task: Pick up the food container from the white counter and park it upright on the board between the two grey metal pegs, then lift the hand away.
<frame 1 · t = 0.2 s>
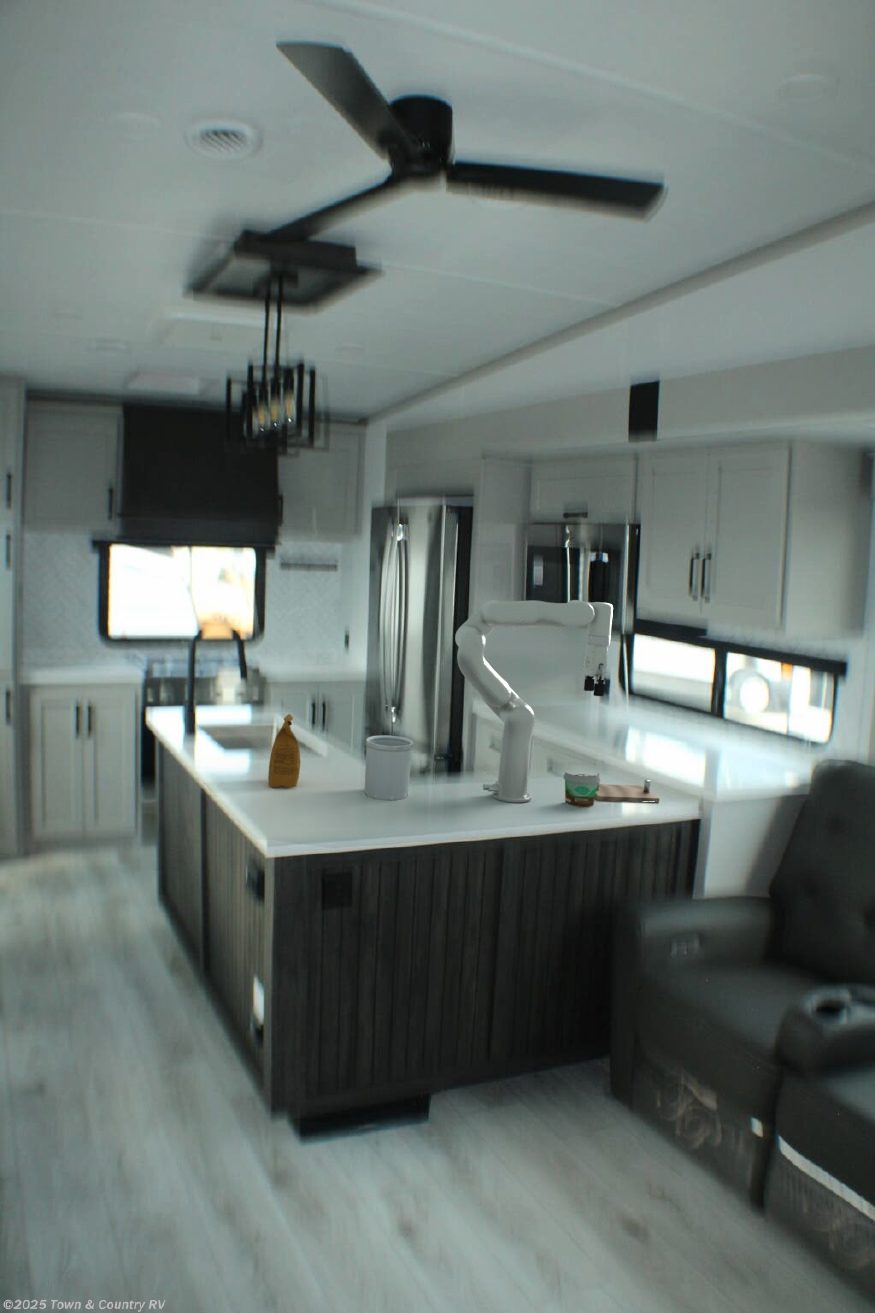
hand: (593, 693, 322), 36 cm above the counter, tool pointing down, fingers open, 9 cm apart
utensil holder: (386, 795, 315), on the counter
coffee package: (283, 785, 318), on the counter
food container: (582, 805, 321), on the counter
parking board: (620, 795, 337), on the counter
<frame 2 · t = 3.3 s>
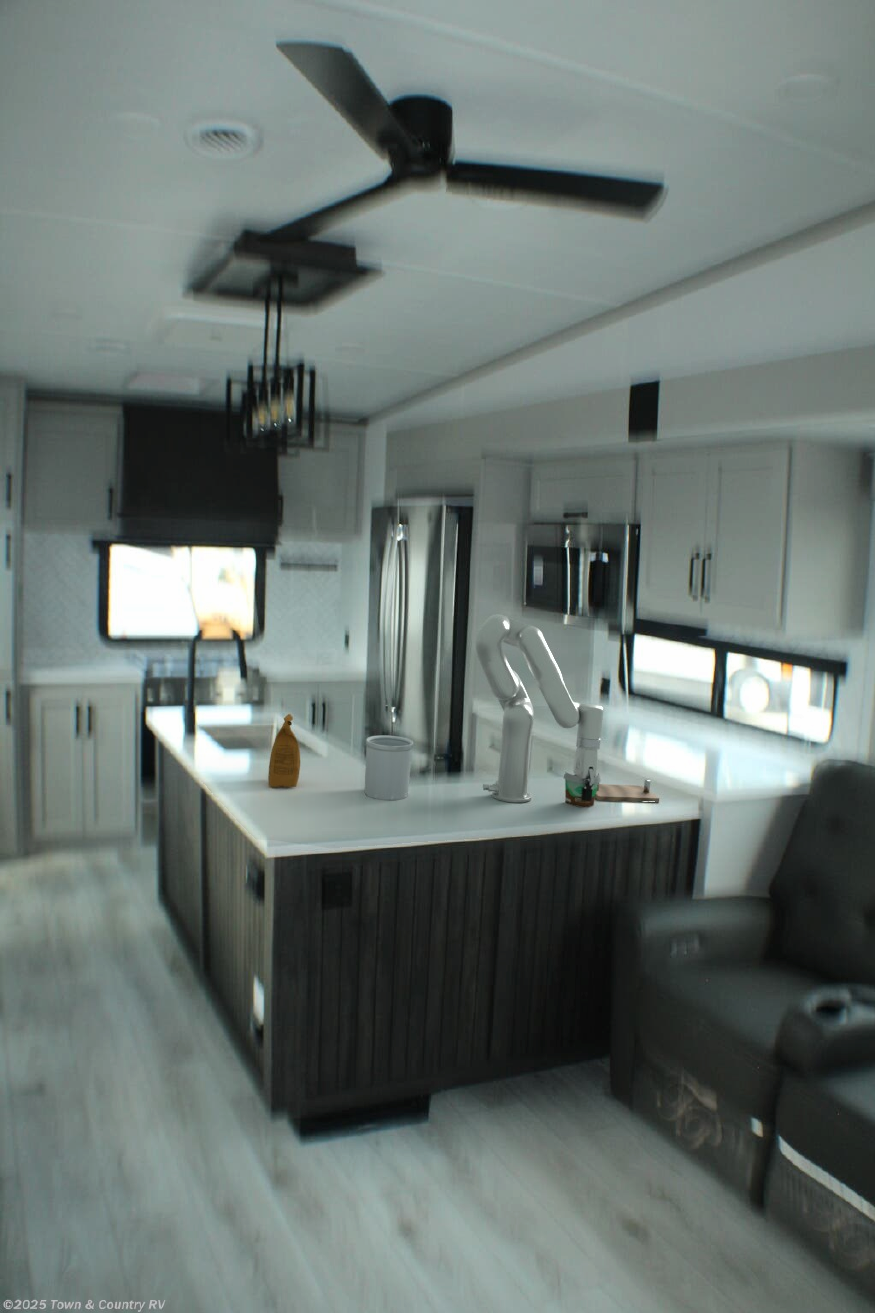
hand: (583, 797, 320), 3 cm above the counter, tool pointing down, fingers open, 6 cm apart
food container: (582, 805, 321), on the counter, touching gripper
everything else where it was.
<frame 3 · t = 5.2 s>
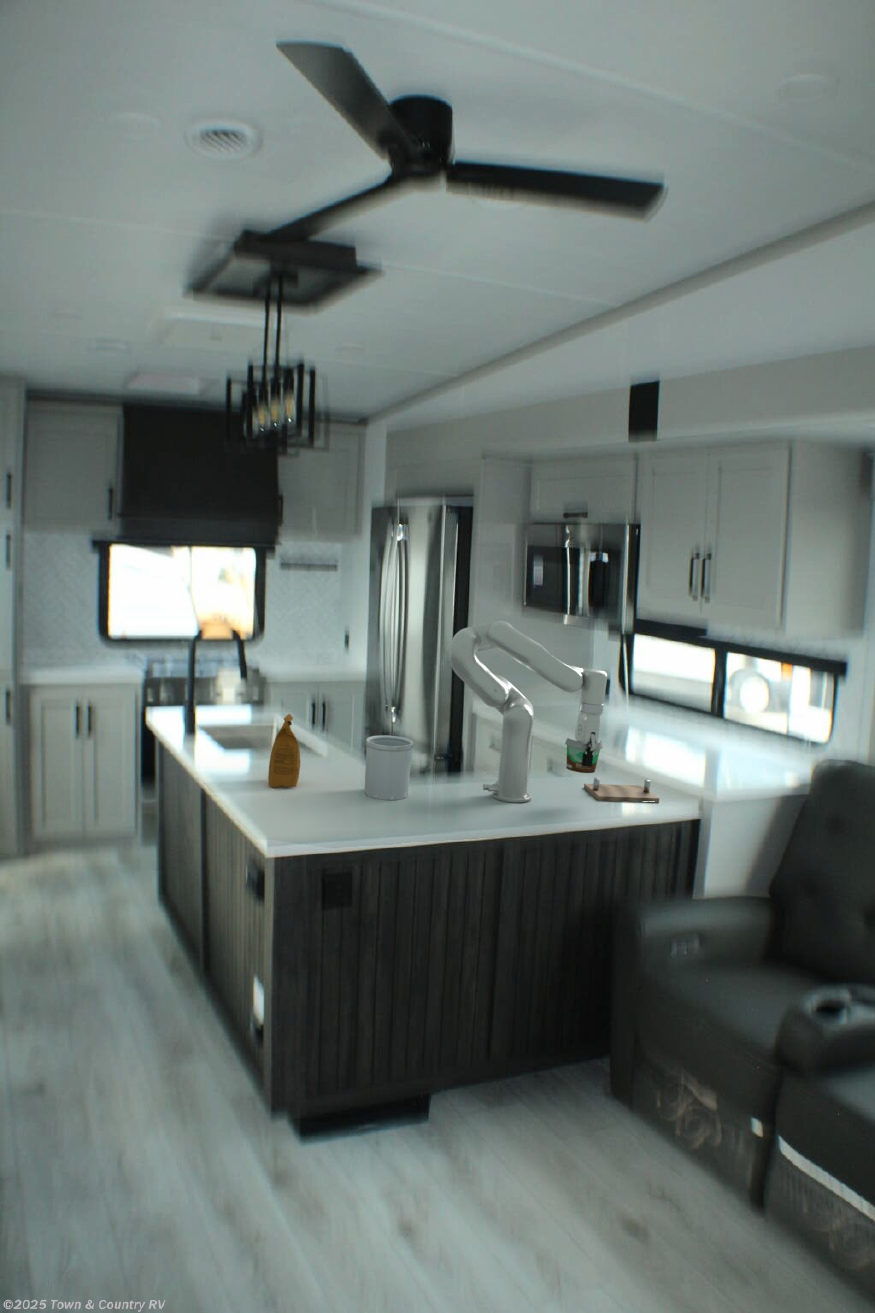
hand: (583, 763, 319), 14 cm above the counter, tool pointing down, fingers closed on food container, 5 cm apart
food container: (583, 772, 319), point 11 cm above the counter, touching gripper
everything else where it was.
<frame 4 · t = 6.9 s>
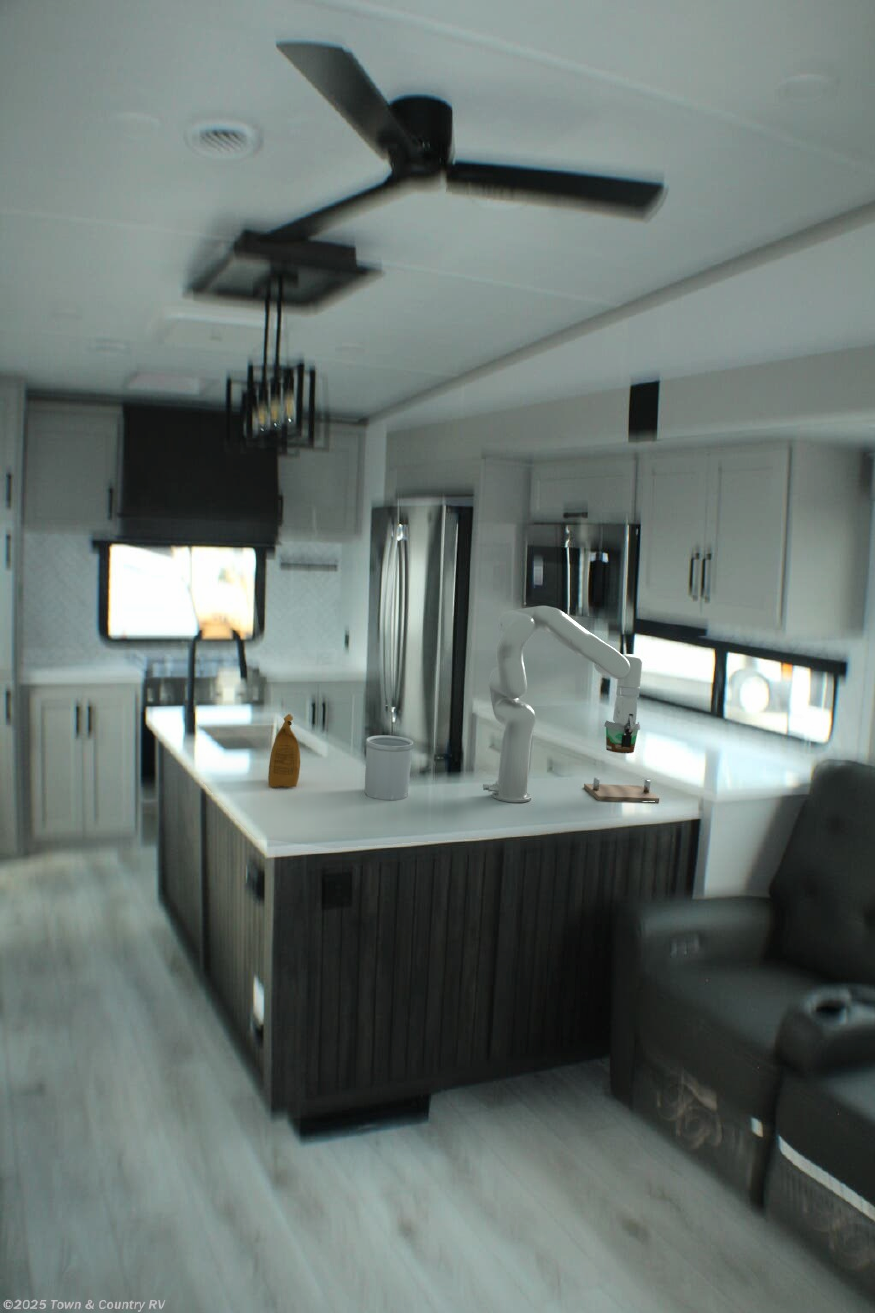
hand: (622, 744, 333), 18 cm above the counter, tool pointing down, fingers closed on food container, 5 cm apart
food container: (622, 752, 333), point 15 cm above the counter, touching gripper
everything else where it was.
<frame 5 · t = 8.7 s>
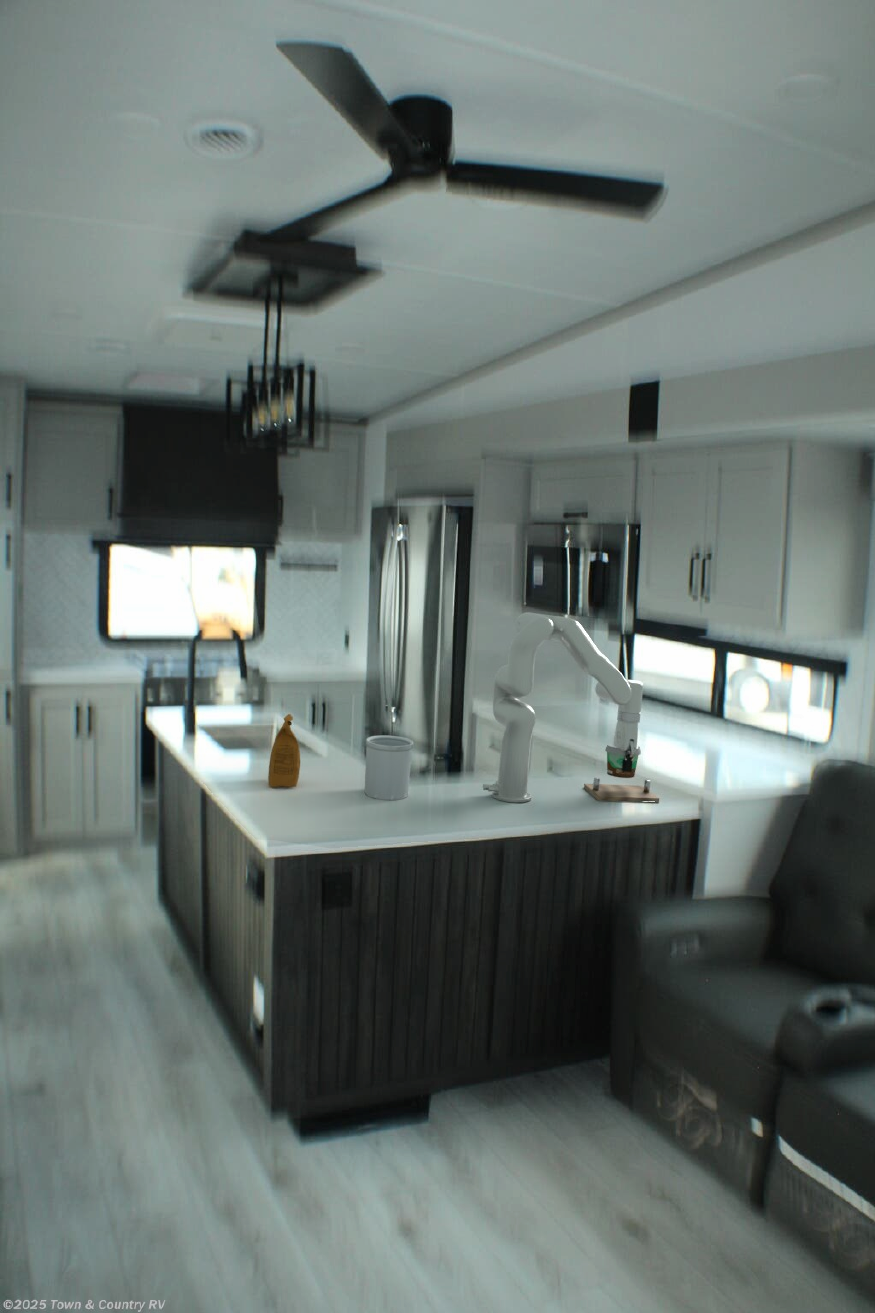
hand: (623, 769, 336), 9 cm above the counter, tool pointing down, fingers closed on food container, 5 cm apart
food container: (623, 777, 336), point 6 cm above the counter, touching gripper
everything else where it was.
when the fingers open (5 cm above the counter, at t = 10.3 s): food container drops 1 cm, resting on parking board.
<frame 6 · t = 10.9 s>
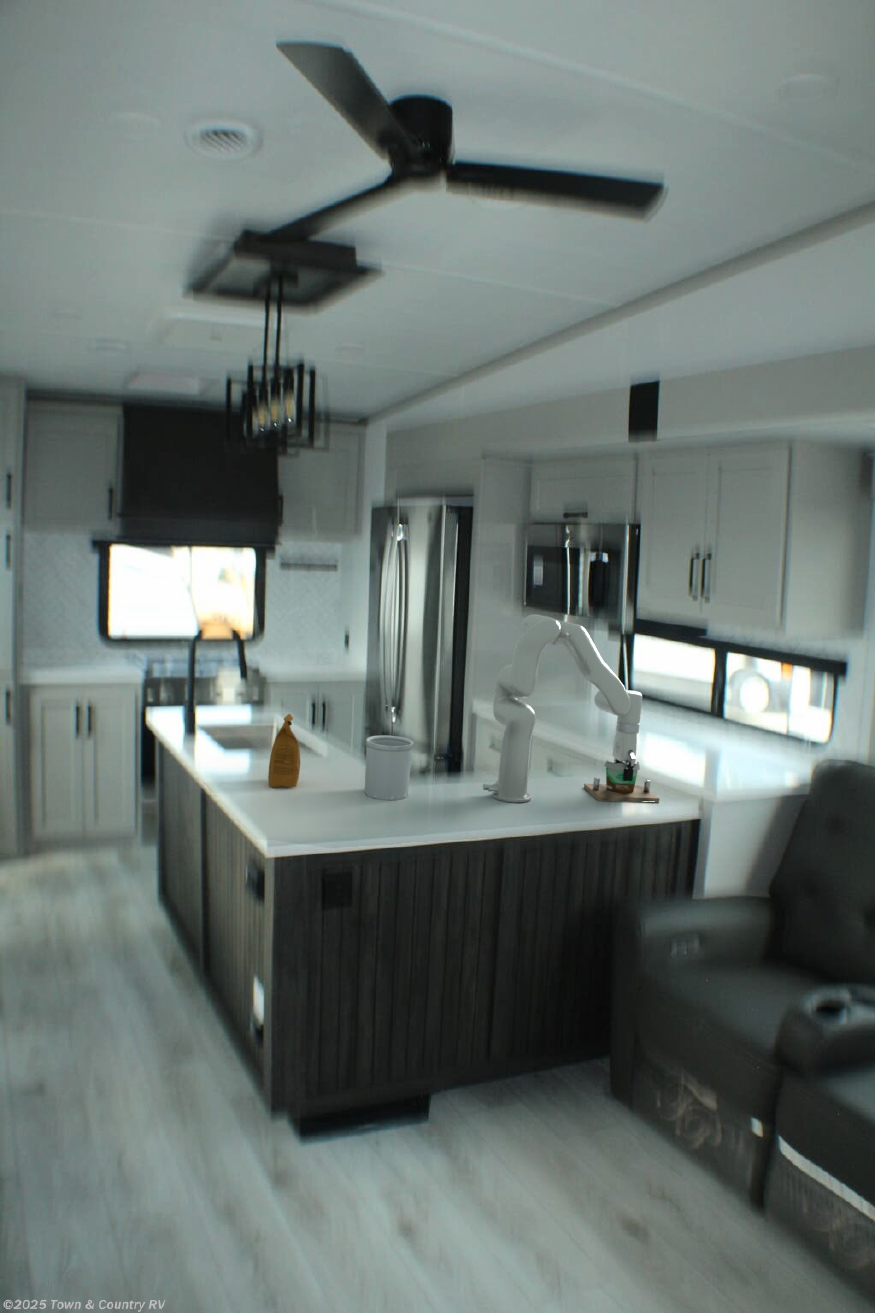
hand: (622, 777, 336), 6 cm above the counter, tool pointing down, fingers open, 9 cm apart
food container: (622, 792, 335), point 1 cm above the counter, touching gripper, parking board
everything else where it was.
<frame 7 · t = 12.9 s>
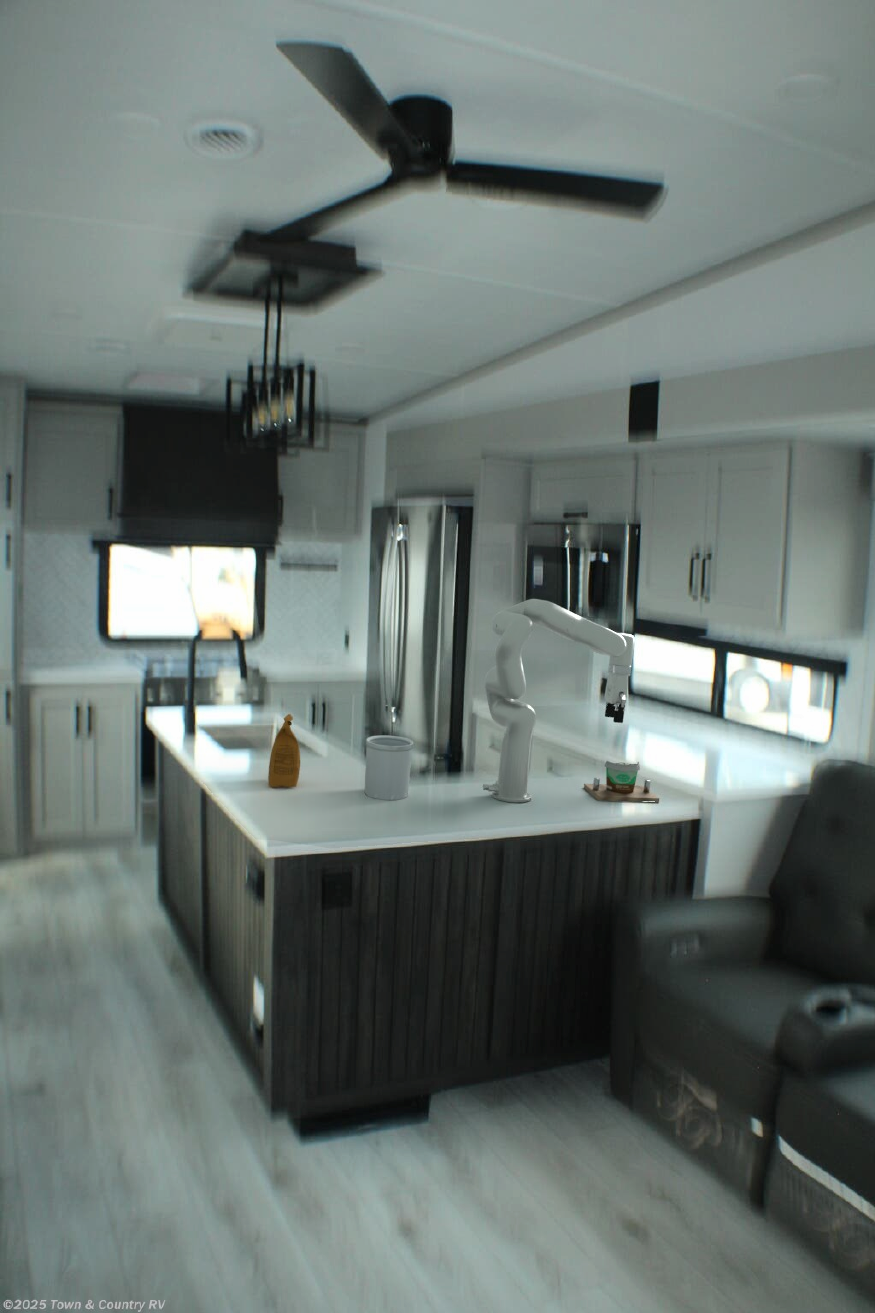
hand: (613, 719, 337), 25 cm above the counter, tool pointing down, fingers open, 9 cm apart
food container: (622, 792, 335), point 1 cm above the counter, touching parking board
everything else where it was.
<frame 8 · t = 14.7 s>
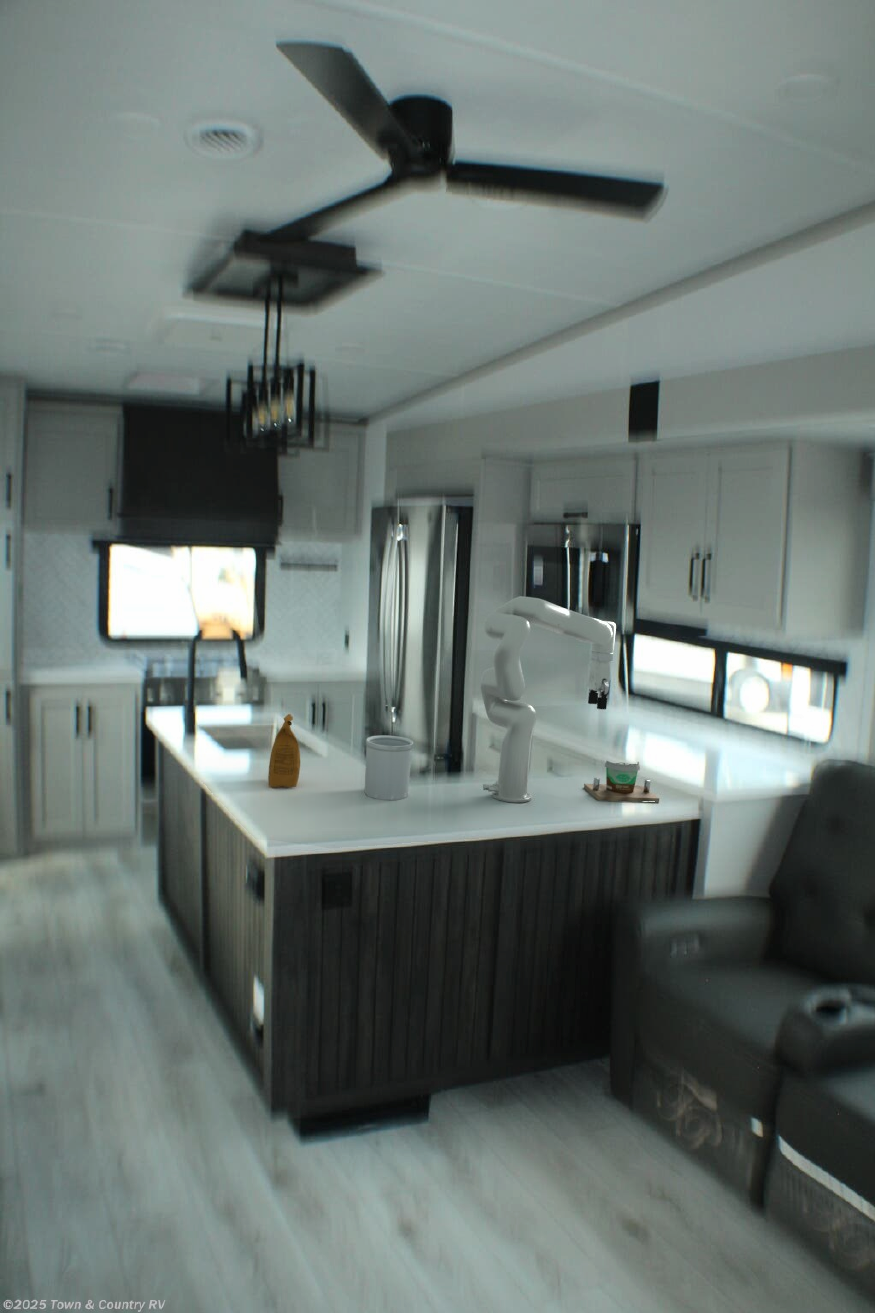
hand: (596, 706, 342), 28 cm above the counter, tool pointing down, fingers open, 9 cm apart
nothing on the counter moved.
at the end: food container 1.7 cm off-centre on the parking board, point 1.3 cm above the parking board's base; food container tilted 0°; the gripper is holding nothing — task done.
